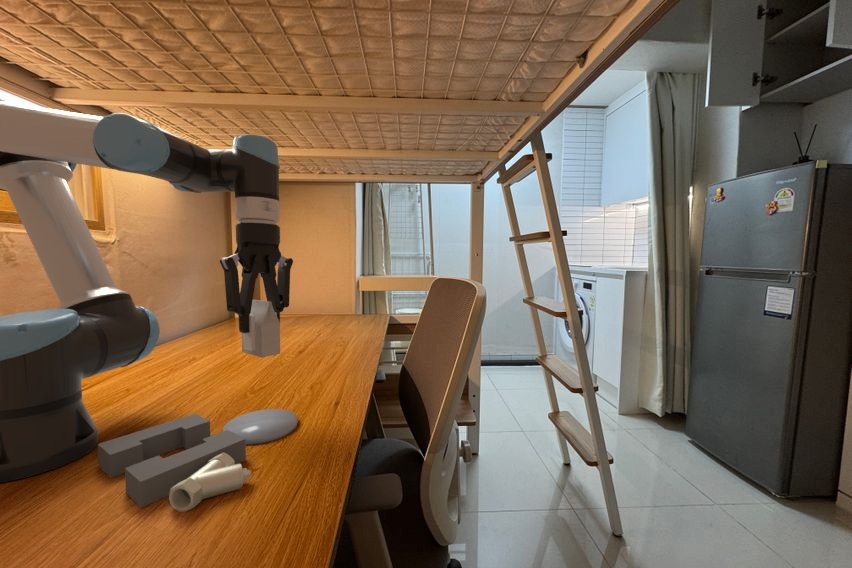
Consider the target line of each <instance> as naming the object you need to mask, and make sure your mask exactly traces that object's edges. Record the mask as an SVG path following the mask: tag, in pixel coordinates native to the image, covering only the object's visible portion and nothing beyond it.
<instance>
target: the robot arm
mask: <svg viewBox="0 0 852 568" xmlns="http://www.w3.org/2000/svg"><path fill="white" fill-rule="evenodd" d="M279 163H280V162H279V149H278V145H277V143H275V141H273V140H272V139H271V138H269V137H265V136H264V135H263V136H262V135H259V134H252V133H243V134H239V135H236V136H235V137H234V138H233V144H232V148H226V149H208V148H204V147H202V146H200V145H197V144H195V143H194V142H191V141H188V140H187V139H184V138H182V137H180V136H178V135H175V134H173V133H172V132H169V131H167V130H166V129H163V128H161V127H158V126H157V125H155V124H154V123H151V122H150V121H148V120H146V119H143V118H140V117H136V116H133V115H131V114H128V113H123V112H113V113H111V114H108V115H106V116H105V115H104V116H98V115H91V114H84V113H78V112H72V111H71V112H70V111H66V110H60V109H55V108H54V109H53V108H47V107H42V106H41V107H40V106H34V105H28V104H23V103H22V104H21V103H17V102H16V103H15V102H8V101H3V100H0V189H2V190H5V191H6V192H7V194H8V197H9V198H10V201H11V203H12V204H13V207H14V208H15V211H16V213H17V216H18V217H19V220H20V222H21V223H22V225H23V228H24V229H25V232H26V234H27V236H28V238H29V239H30V242H31V244H32V246H33V249H34V251H35V252H36V255H37V257H38V259H39V261H40V263H41V265H42V267H43V269H44V271H45V274H46V275H47V276H46V277H48V280H49V282H50V284H51V285H52V289H53V291H54V292H55V294H56V297H57V299H58V300H59V307H58V308H48V309H47V308H46V309H45V308H44V309H38V310H34V311H23V312H22V311H21V312H17V313H12V314H11V313H10V314H6V315H2V316H0V483H7V482H12V481H16V480H20V479H26V478H28V477H32V476H36V475H40V474H43V473H45V472H50V471H53V470H55V469H57V468H59V467H62V466H66V465H67V464H69V463H72V462H74V461H77V460H78V459H80V458H82V457H83V456H85V455H87V454H88V453H90V452H92V450H93V449H95V447H96V446H98V444H99V434H98V427H97V425H96V424H95V422H94V420H93V417H92V416H91V414H90V413H89V410H88V409H87V407H86V405H85V404H84V401H83V387H82V386H83V384H82V382H83V381H82V380H83V379H87V378H90V377H93V376H97V375H99V374H102V373H105V372H109V371H111V370H115V369H119V368H125V367H128V366H130V365H132V364H134V363H136V362H139V361H141V360H143V359H145V358H147V357H148V356H150V354H151V353H153V351H154V350H155V349H156V346H157V342H158V341H159V339H160V334H161V333H160V329H161V328H160V323H159V320H158V319H157V317H156V315H155V314H154V313H153V311H151V309H146V307H144V306H140V305H136V304H135V302H134V300H133V298H132V296H131V294H130V292H127V291H125V290H122V289H119V288H117V285H116V283H115V282H114V280H113V276H112V275H111V273H110V271H109V269H108V267H107V265H106V262H105V260H104V259H103V256H102V254H101V252H100V250H99V248H98V246H97V244H96V241H95V239H94V238H93V235H92V233H91V232H90V229H89V226H88V224H87V223H86V220H85V218H84V216H83V214H82V211H81V210H80V208H79V206H78V203H77V201H76V199H75V197H74V195H73V193H72V191H71V188H70V186H69V185H68V182H70V181H71V179H72V178H73V176H74V175H73V172H74V171H75V169H76V166H77V165H83V166H91V167H97V168H103V169H110V170H115V171H120V172H125V173H130V174H137V175H144V176H147V177H151V178H155V179H159V180H163V181H166V182H168V183H169V184H171V185H172V186H173V188H175V189H176V190H178V191H181V192H189V193H195V194H197V193H198V194H201V193H221V192H222V193H223V192H224V193H226V192H227V193H228V192H234V210H235V211H234V219H235V220H236V221H238V223H236V224H235V242H236V249H235V251H234V254H232V255H229V256H227V257H225V256H223V257H220V259H219V264H220V265H221V267H222V270H223V275H224V286H225V287H224V288H225V298H226V300H225V301H226V302H225V303H226V309H227V312H229V313H233V314H236V315H237V316H238V330H239V332H240V333H241V334H242V333H243V339H244V349H246V350H250V351H254V350H256V348H255V315H251V314H250V313H251V307H252V301H253V300H254V294H255V287H256V282H257V279H258V277H259V275H260V277H261V278H262V283H263V288H264V292H265V297H266V301H269V302H272V306H273V309H274V311H275V313H276V316H277V318H278V320H279V322H280V323H281V313H283V311H284V309H286V308H289V306H290V296H291V295H290V290H291V287H290V286H291V269H292V266H293V263H294V259H293V258H289V257H288V258H287V257H286V256H284V255H282V253H281V251H280V244H281V226H280V225H278V223H279V222H281V221H280V195H279V194H280V191H279V190H280V166H281V165H280V164H279ZM239 264H240V265H241V267H242V269H241V275H240V276H241V278H242V279H241V286H240V282H239V281H240V279H239V277H240V276H239V271H238V266H239ZM276 266H278V267H277V270H276ZM276 278H277V280H276Z"/></svg>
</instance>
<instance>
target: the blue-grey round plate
mask: <svg viewBox="0 0 852 568" xmlns="http://www.w3.org/2000/svg"><path fill="white" fill-rule="evenodd" d="M297 426H298V416H297V414H296V413H295V412H293V411H291V410H287V409H281V408H271V409H260V410H254V411H251V412H247V413H243V414H241V415H238V416H236V417H234V418H233V419H231V420H229V421H228V422H227V423H225V425H224V426H223V430H222V432H223V431H226V430H229V431H231V432H233V433H235V434H237V435H239V436H241V437H243V438H245V442H246V445H247V446H248V445H258V444H264V443H268V442H272V441H276V440H279V439H281V438H283V437H286V436H287V435H290V433H292V432H293V431H295V430H296V428H297Z"/></svg>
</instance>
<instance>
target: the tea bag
mask: <svg viewBox="0 0 852 568" xmlns="http://www.w3.org/2000/svg"><path fill="white" fill-rule="evenodd" d="M250 314H251V315H255V348H256V350H254V351H250V350H246V349H244V339H243V333H241V352H242V354H243V353H244V354H248V355H250V356H254V357H257V358H258V357H259V358H267V357H270V356H276V355H280V354H281V321H280V322H279V320H278V318H277V316H276V313H275V311H274V309H273V306H272V302H269V301H267V300H259V299H253V301H252V307H251V313H250Z"/></svg>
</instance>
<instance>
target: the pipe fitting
mask: <svg viewBox="0 0 852 568" xmlns="http://www.w3.org/2000/svg"><path fill="white" fill-rule="evenodd" d="M247 469H248V468H246V467H244V468H243V466H242V464H241V463H238V464H236V465H235V461H234V460H233V458H232V457H231V456H229V455H228V454H226V453H222V454H219V455H217V456H215V457H213V458H212V459H210V460H209V461H208V462H207V464H206V465H205V466H203V467H202V468H201V469H199V470H198V471H197V472H195V473H194V474H193V475H191V476H190V477H188V478H187V479H186V480H183V481H181V482H179V483H178V484H176V485H175V486H173V487H172V488H171V489H170V495H168V498H169V503H170V506H171V507H172V508H173V509H175V510H176V511H178V512H181V513H185V512H187V511H190V510H192V509H194V508H195V507H196V506H198V505H199V503H201V502H202V500H204V499H208V498H211V497H216V496H219V495H223V494H225V493H229V492H234V491H238V490H241V489H242V488H243V484H244V482H247V481H248V478H250V477H251V475H252V474H251V470H250V469H249V470H247Z"/></svg>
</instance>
